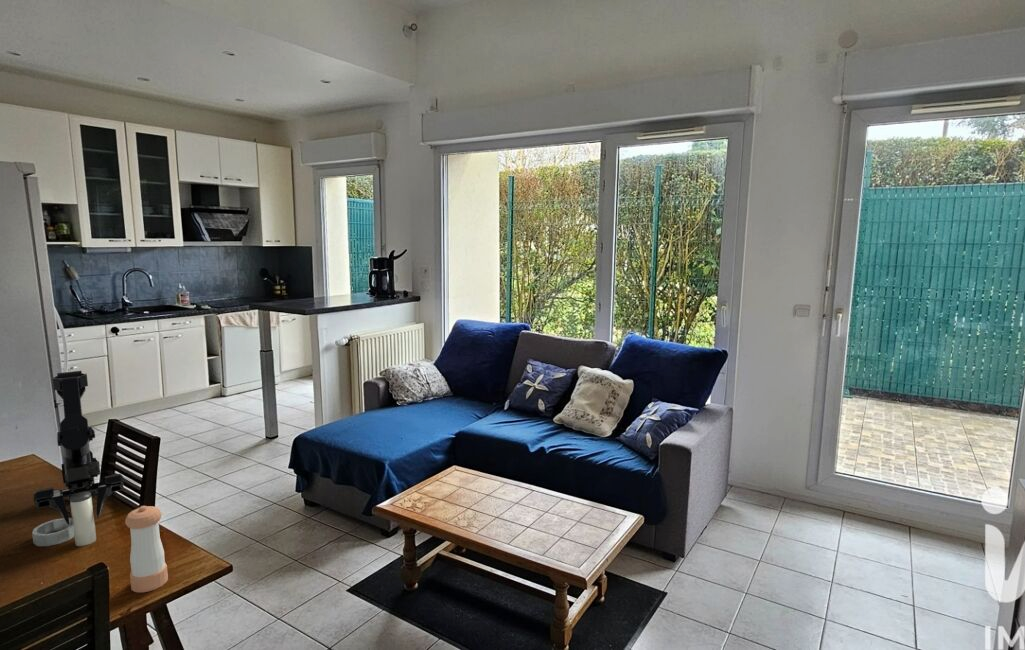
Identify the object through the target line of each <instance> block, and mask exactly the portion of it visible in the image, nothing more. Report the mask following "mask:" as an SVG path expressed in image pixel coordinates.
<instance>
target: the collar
mask: <svg viewBox="0 0 1025 650" xmlns="http://www.w3.org/2000/svg"><path fill="white" fill-rule="evenodd" d="M31 535H32V536H31V537H32V542H33V544H34V545H35V546H36V547H51V546H55V545H59V544H63V543H65V542H67V541H70V540H71V539H73V538H75V536H74V528H73V520H72V517H69V525H67V523H66V521H65V520H64V518H63V517H61V518H56V519H52V520H49V521H46V522H44V523H41V524H40V525H38V526H36V527H34V528H33V530H32V532H31Z"/></svg>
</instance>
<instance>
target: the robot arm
mask: <svg viewBox="0 0 1025 650" xmlns="http://www.w3.org/2000/svg"><path fill="white" fill-rule="evenodd" d="M56 374H57V376H56V375H55V376H53V377H51V378H52V379H51V380H52V387H53V391H56V392H57V393H56V394H57V395H58V396H59V398H60V399H62V401H63V414H64V415H63V416H64V418H63V419H62V420H61V421H60V423H59V431H57V433H56V434H57V435H56V436H57V437H56V439H57V446H58V447H61V449H62V455H63V463H61V474H62V482H63V484H65V488H66V489H61V490H60V489H58V490H55V489H54V487H53V486H52V487H48V488H43V489H37V490H35V491H34V493H33V501H34V505H35V509H43V508H47V507H49V508H50V509H56V510H57V511H58V512H59V514H60V515H61V516H62V518H64V520H65V521H66V523H67V525H69V518H70V517H69V514H68V513H69V512H68V510H67V506H66V503H65V502H70V497H71V496H72V495H74V494H76V493H80V492H91V498H93V497H94V496H96V518H100V516H101V512H102V509H103V505H104V504H105V501H107V497H110V496H111V495H112V493H115V492H119V491H123V490H124V478H123V474H121V473H117V474H111V475H105V476H104V480H103V481H99V482H95V478H98V477H99V476H100V475H101V469H100V468H101V465H100V461H99V460H98V459H97V458H96V457H94V455H93V452H92V451H91V450H90V442H91V441H93V439H95V438H96V433H95V429H94V428H93V427H92V426H89V423H88V418H86V417H85V416H83V412H82V411H83V409H82V402H81V401H82V400H81V399H82V398H83V396H84V394H85V392H86V387H88V386H89V383H88V373H83V372H82V370H75V371H74V370H73V371H64V372H58V373H56ZM96 490H98V491H96Z"/></svg>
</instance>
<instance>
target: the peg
mask: <svg viewBox="0 0 1025 650" xmlns="http://www.w3.org/2000/svg"><path fill="white" fill-rule="evenodd" d="M92 498H93V497H91V492H80V493H76V494H74V495H72V496H71V497H70V501H69V502H70V504H69V505H70V510H71V511H70V512H71V518H72V520H73V528H74V544H75V546H77V547H85V546H89V545H91V544H93V543H95V542H96V541H97V533H96V532H97V531H96V523H95V516H94V508H93V499H92Z"/></svg>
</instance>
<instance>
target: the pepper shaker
mask: <svg viewBox="0 0 1025 650" xmlns="http://www.w3.org/2000/svg"><path fill="white" fill-rule="evenodd" d="M162 513H163V512H162V511H161V509H160V508H158V507H157V506H153V505H152V506H151V505H150V506H149V505H148V506H147V505H141V506H140V507H138V508H135V509H133V510H131V511H130V512H129V513H128V514H127V516H126V518H125V520H124V523H125V526H126V527H127V528H129V532H130V540H131V541H130V542H131V547H130V554H129V555H130V556H129V562H130V570H131V571H130V573H129V580H130V587H131V588H130V589H131V591H133V592H134V593H146V592H151V591H154V590H157V589H159V588H161V587H163V586H164V585H165V584H166V583H167V582H168V579H169V575H168V565H167V563H166V561H165V550H164V546H163V543H162V540H161V536H160V525H159V521H160V520H161V518H162V515H163V514H162Z"/></svg>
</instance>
